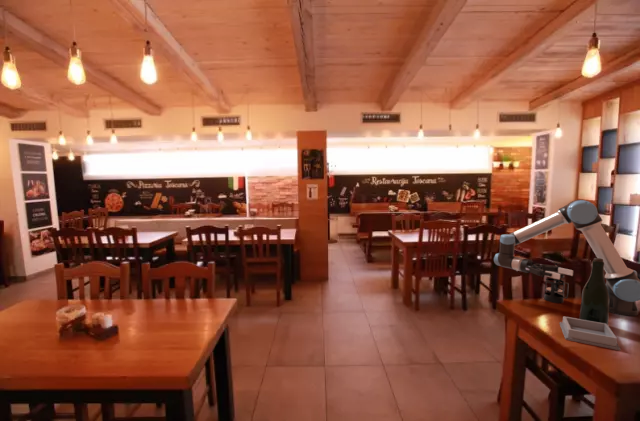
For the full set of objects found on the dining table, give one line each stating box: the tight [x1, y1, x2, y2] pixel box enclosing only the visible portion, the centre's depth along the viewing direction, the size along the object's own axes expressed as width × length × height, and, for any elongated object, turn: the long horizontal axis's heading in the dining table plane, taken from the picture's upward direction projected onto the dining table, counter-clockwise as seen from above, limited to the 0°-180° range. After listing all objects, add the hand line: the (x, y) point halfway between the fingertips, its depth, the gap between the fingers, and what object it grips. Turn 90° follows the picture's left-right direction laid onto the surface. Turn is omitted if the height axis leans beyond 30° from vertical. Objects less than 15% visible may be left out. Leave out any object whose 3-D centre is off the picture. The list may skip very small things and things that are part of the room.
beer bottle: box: [579, 257, 610, 326], centre depth 152 cm, size 10×10×33 cm
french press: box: [543, 261, 570, 304], centre depth 184 cm, size 12×9×23 cm
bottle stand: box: [559, 316, 621, 351], centre depth 142 cm, size 18×18×4 cm
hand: (566, 274), depth 161 cm, fingers open, 13 cm apart
